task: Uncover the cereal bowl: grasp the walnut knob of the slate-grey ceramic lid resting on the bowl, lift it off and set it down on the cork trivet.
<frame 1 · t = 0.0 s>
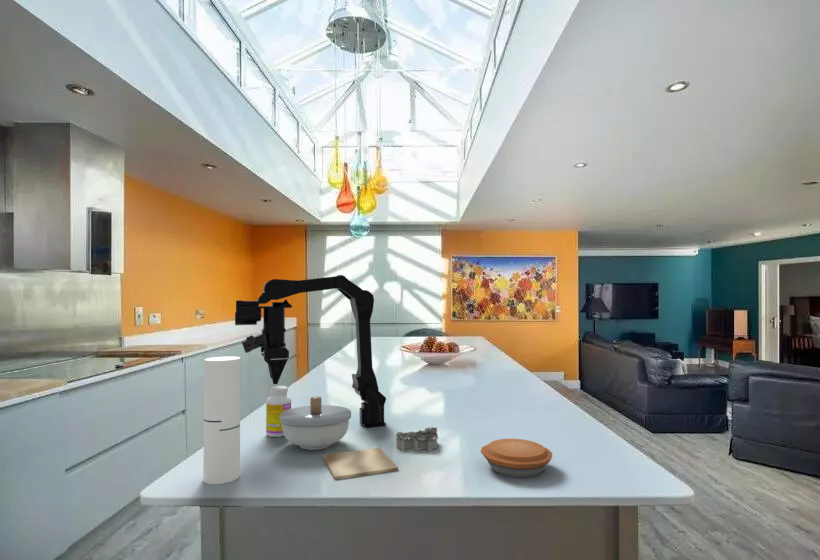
hand: (273, 381, 128), 15 cm above the counter, tool pointing down, fingers open, 9 cm apart
supplement bottle: (278, 434, 128), on the counter
egg carton: (417, 447, 118), on the counter
pie: (516, 468, 103), on the counter
lid: (315, 417, 119), point 7 cm above the counter, touching cereal bowl
cylindrical container: (221, 478, 98), on the counter
trivet: (359, 463, 105), on the counter
cereal bowl: (315, 445, 119), on the counter, touching lid
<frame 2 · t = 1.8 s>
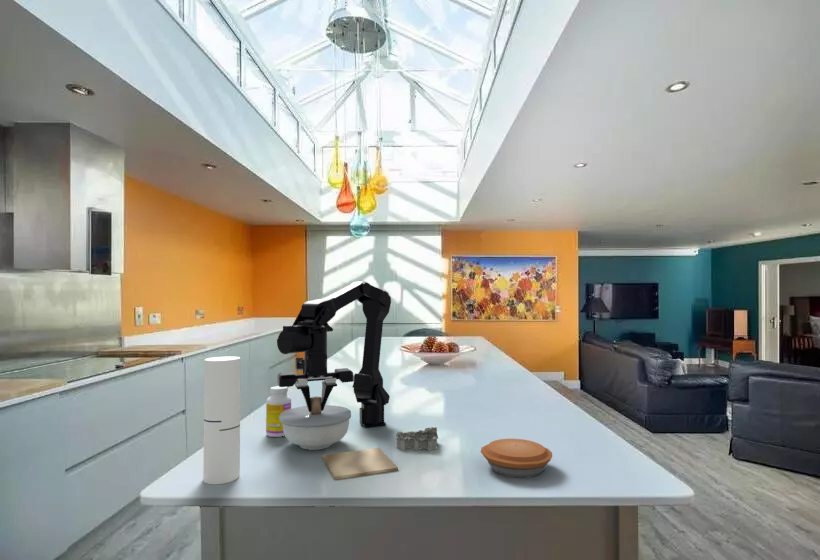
hand: (315, 411, 119), 9 cm above the counter, tool pointing down, fingers closed on lid, 3 cm apart
lid: (315, 417, 119), point 7 cm above the counter, touching cereal bowl, gripper
everything else where it was.
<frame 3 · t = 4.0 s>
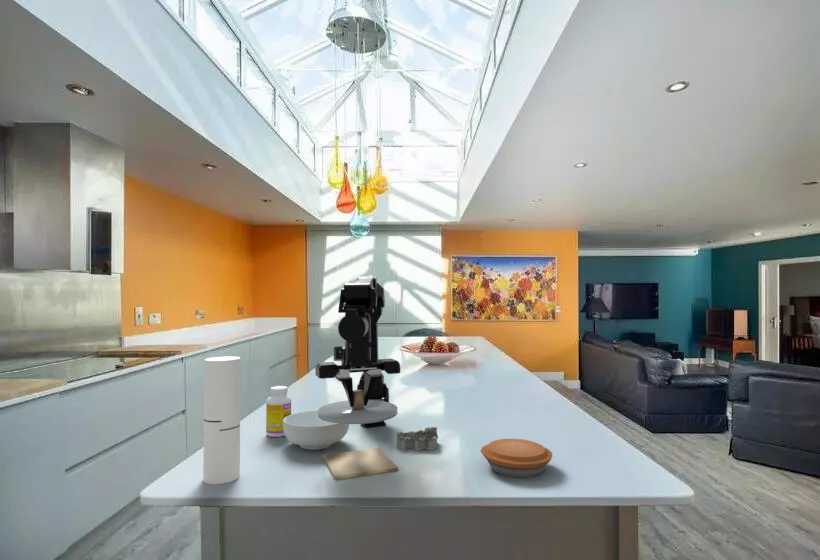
hand: (358, 406, 106), 13 cm above the counter, tool pointing down, fingers closed on lid, 3 cm apart
lid: (358, 413, 106), point 11 cm above the counter, touching gripper
cereal bowl: (316, 445, 119), on the counter
everything else where it was.
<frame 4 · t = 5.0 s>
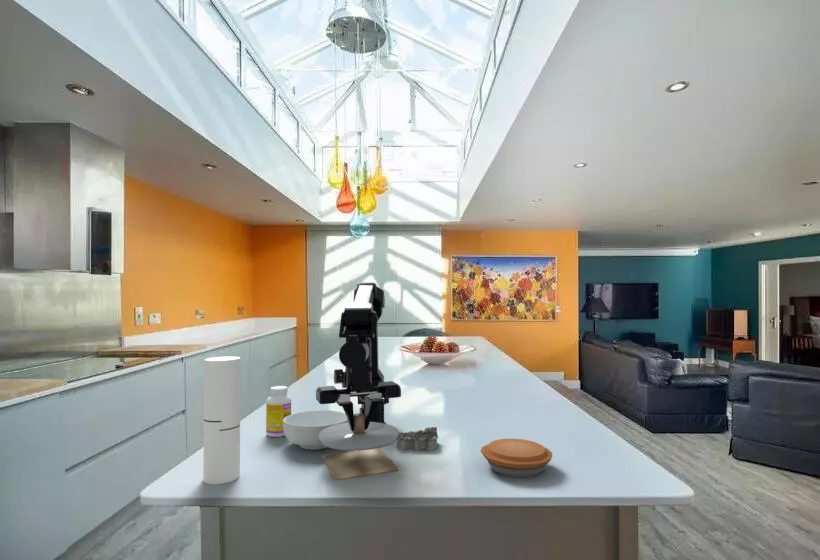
hand: (359, 430, 106), 8 cm above the counter, tool pointing down, fingers closed on lid, 3 cm apart
lid: (358, 437, 106), point 6 cm above the counter, touching gripper
everything else where it was.
when the fingers open (3 cm above the counter, at t = 6.0 s): lid drops 1 cm, resting on trivet.
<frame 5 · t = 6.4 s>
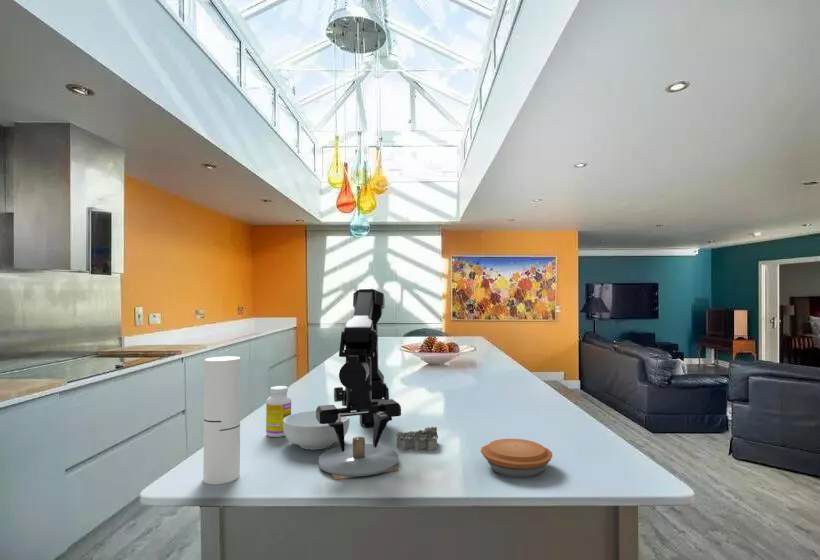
hand: (359, 449, 105), 3 cm above the counter, tool pointing down, fingers open, 7 cm apart
lid: (358, 460, 105), point 1 cm above the counter, touching trivet
everything else where it was.
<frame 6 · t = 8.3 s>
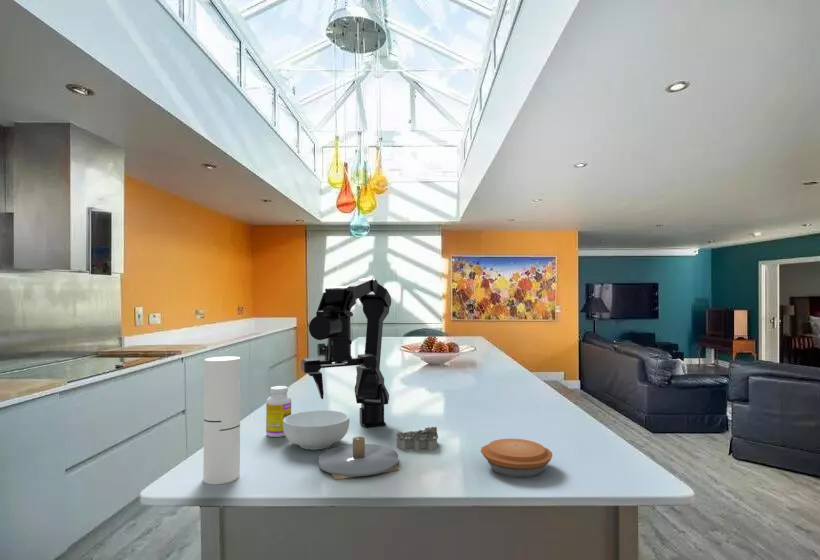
hand: (340, 396, 118), 12 cm above the counter, tool pointing down, fingers open, 9 cm apart
nothing on the counter moved.
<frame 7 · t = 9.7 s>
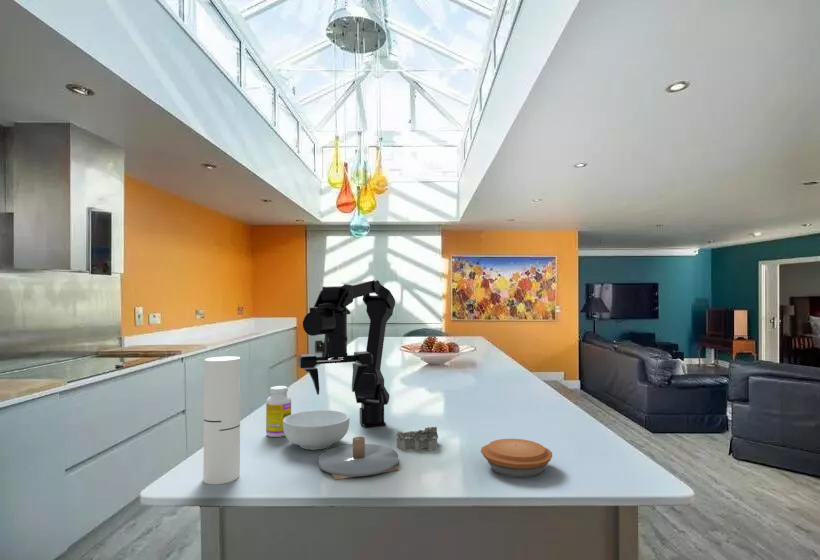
hand: (335, 392, 120), 13 cm above the counter, tool pointing down, fingers open, 9 cm apart
nothing on the counter moved.
at the end: lid inside the target area (0.2 cm from its centre), point 0.6 cm above the counter; lid tilted 0°; the gripper is holding nothing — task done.
